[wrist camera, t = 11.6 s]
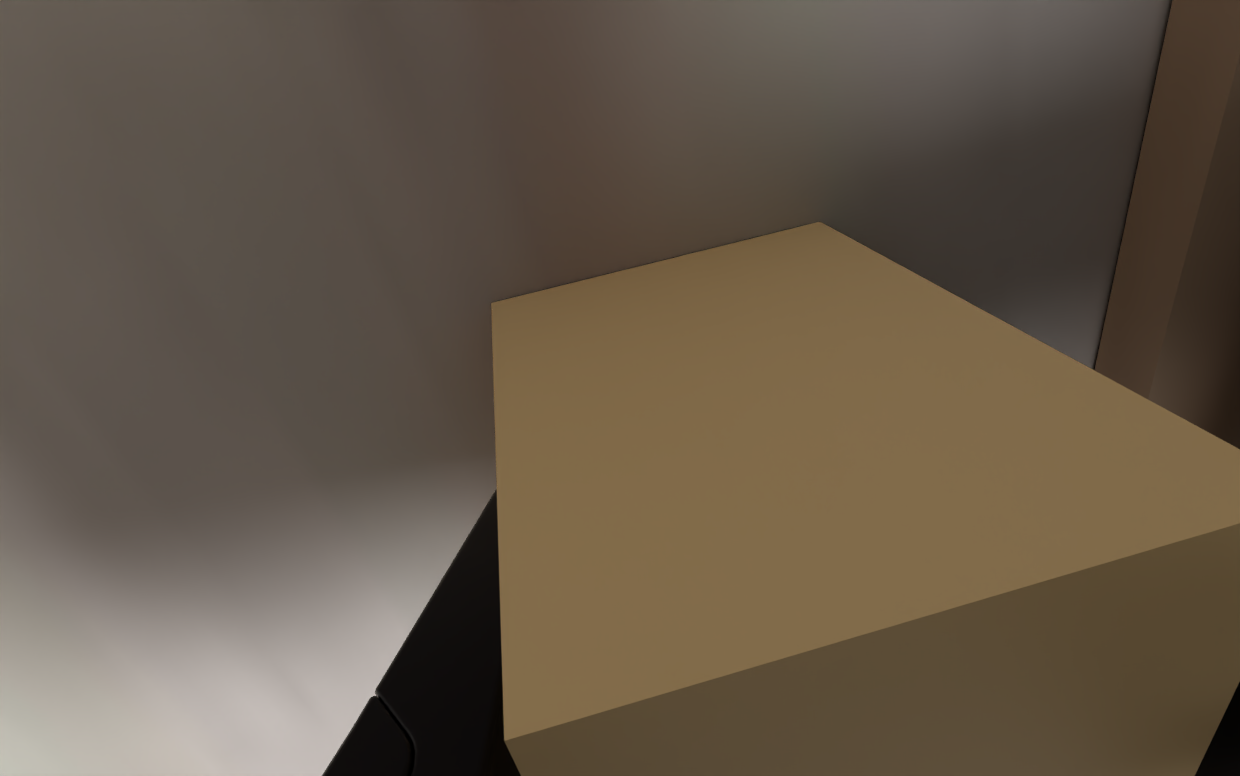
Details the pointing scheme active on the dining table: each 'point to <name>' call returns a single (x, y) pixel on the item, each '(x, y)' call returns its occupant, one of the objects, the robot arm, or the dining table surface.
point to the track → (1185, 231)
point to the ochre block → (845, 533)
